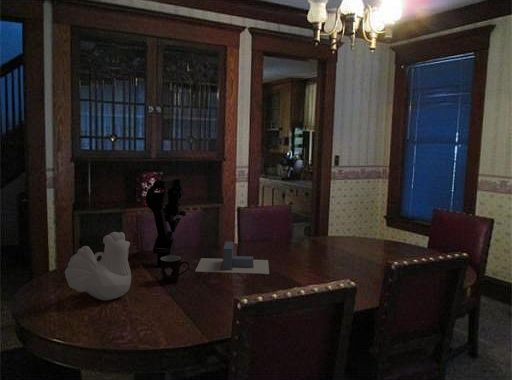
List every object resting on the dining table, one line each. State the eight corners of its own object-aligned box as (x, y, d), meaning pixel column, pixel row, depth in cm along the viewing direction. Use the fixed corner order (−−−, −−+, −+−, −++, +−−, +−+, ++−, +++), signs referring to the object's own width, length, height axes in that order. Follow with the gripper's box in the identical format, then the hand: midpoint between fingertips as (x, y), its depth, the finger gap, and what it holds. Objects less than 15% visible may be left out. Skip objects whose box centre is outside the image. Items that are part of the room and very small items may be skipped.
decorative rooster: (123, 285, 174) (123, 226, 171) (138, 297, 162) (138, 233, 159) (58, 298, 159) (56, 233, 156) (69, 312, 147) (67, 242, 144)
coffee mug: (155, 282, 180) (155, 259, 179) (169, 276, 187) (169, 254, 186) (177, 287, 174) (178, 263, 173) (190, 281, 182) (190, 258, 181)
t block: (222, 269, 198) (223, 248, 197) (225, 261, 212) (225, 241, 211) (252, 270, 198) (253, 249, 197) (253, 261, 212) (253, 242, 211)
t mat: (194, 272, 194) (194, 271, 194) (201, 258, 216) (201, 258, 216) (269, 274, 194) (269, 273, 194) (268, 260, 216) (268, 260, 216)
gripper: (167, 198, 226) (167, 227, 227) (149, 203, 208) (149, 234, 209) (186, 200, 223) (186, 229, 224) (170, 205, 205) (170, 236, 207)
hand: (173, 232), depth 216 cm, fingers closed
